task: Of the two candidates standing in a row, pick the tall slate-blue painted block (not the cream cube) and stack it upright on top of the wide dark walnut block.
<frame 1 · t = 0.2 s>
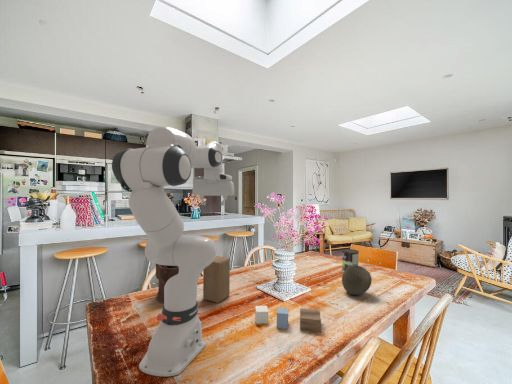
hand: (213, 205, 116), 48 cm above the table, fingers open, 8 cm apart
blue block: (282, 325, 98), on the table
cream cube: (261, 320, 102), on the table
dark grey ball: (356, 294, 128), on the table
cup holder: (171, 298, 122), on the table
coffee can: (350, 271, 163), on the table
wooden block: (216, 298, 123), on the table
walnut base: (309, 326, 98), on the table
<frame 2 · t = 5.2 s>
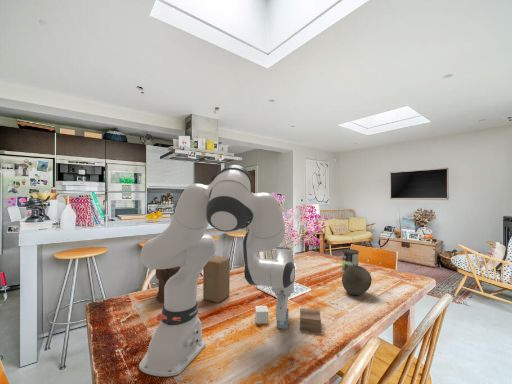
hand: (282, 320, 98), 2 cm above the table, fingers closed on blue block, 4 cm apart
blue block: (282, 325, 98), on the table, touching gripper
everything else where it was.
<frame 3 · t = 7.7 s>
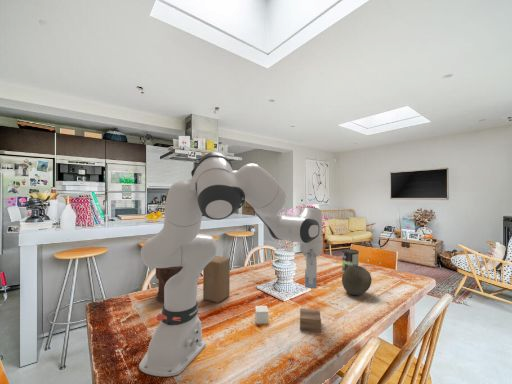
hand: (310, 280, 98), 18 cm above the table, fingers closed on blue block, 4 cm apart
blue block: (310, 285, 98), point 16 cm above the table, touching gripper
everything else where it was.
when the fingers open (8 cm above the table, at t = 10.3 s): blue block drops 1 cm, point 5 cm above the table.
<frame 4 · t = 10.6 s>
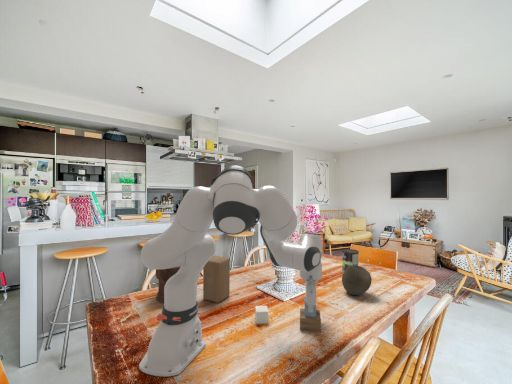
hand: (310, 305, 98), 8 cm above the table, fingers open, 8 cm apart
blue block: (310, 314, 98), point 5 cm above the table
everything else where it was.
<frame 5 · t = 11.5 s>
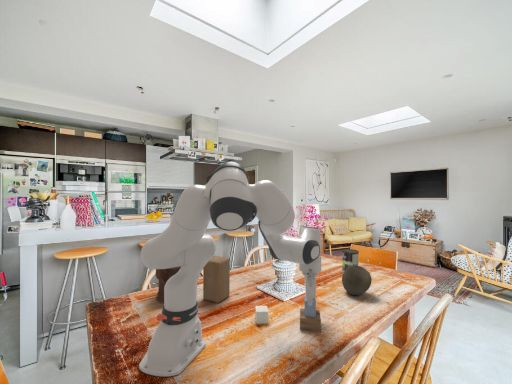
hand: (309, 299, 99), 11 cm above the table, fingers open, 8 cm apart
nothing on the table moved.
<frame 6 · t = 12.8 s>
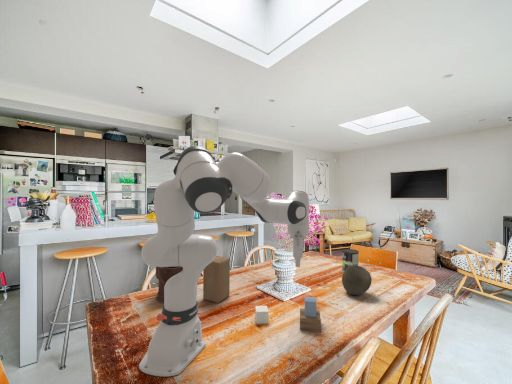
hand: (297, 262, 100), 25 cm above the table, fingers open, 8 cm apart
blue block: (310, 313, 98), point 5 cm above the table, touching walnut base
walnut base: (309, 326, 98), on the table, touching blue block
everything else where it was.
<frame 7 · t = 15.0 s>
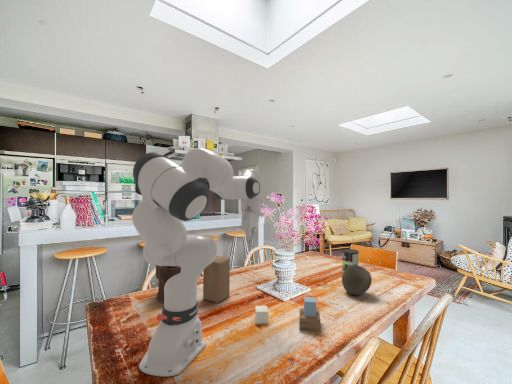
hand: (250, 237, 107), 34 cm above the table, fingers open, 8 cm apart
nothing on the table moved.
at the end: blue block 0.3 cm off-centre on the walnut base, point 5.0 cm above the walnut base's base; blue block tilted 0°; cream cube moved 0.1 cm from its start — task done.
